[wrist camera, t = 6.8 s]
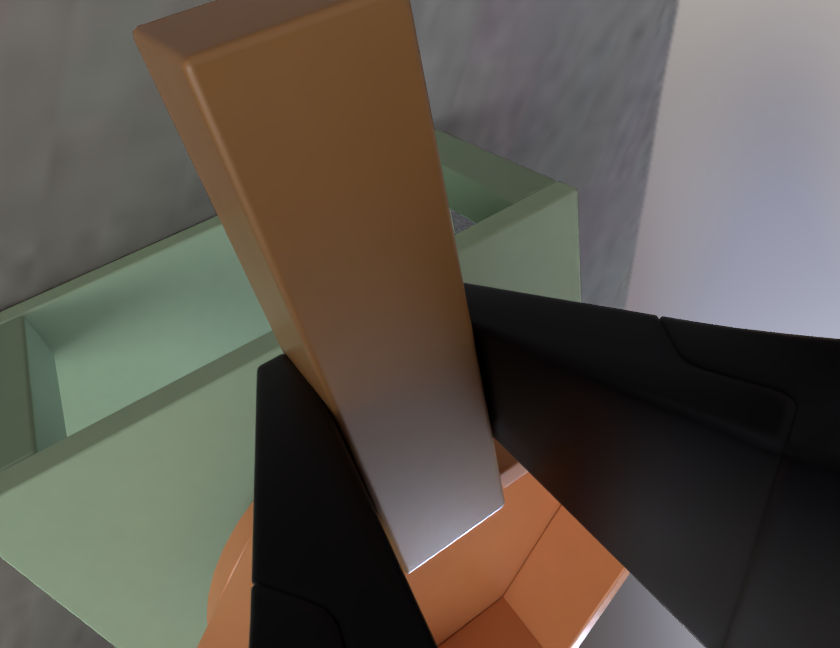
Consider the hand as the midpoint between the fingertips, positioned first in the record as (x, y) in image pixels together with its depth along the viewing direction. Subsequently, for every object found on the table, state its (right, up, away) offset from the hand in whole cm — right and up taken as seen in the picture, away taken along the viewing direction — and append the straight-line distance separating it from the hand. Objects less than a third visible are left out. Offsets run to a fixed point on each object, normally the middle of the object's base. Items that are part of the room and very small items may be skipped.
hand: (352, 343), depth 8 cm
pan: (0, -2, +3) cm, 4 cm away
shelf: (-3, -1, +10) cm, 11 cm away
